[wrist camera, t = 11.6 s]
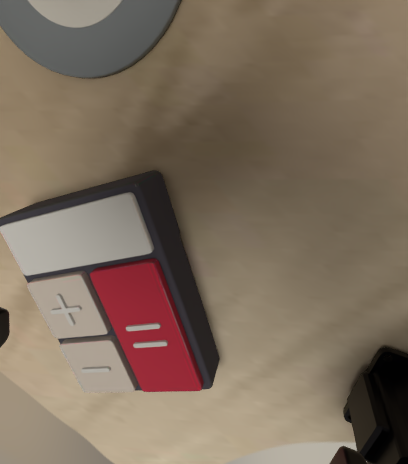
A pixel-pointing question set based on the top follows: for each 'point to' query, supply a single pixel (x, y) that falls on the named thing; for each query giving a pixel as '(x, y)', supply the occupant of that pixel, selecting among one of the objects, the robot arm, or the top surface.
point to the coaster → (86, 32)
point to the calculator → (116, 286)
